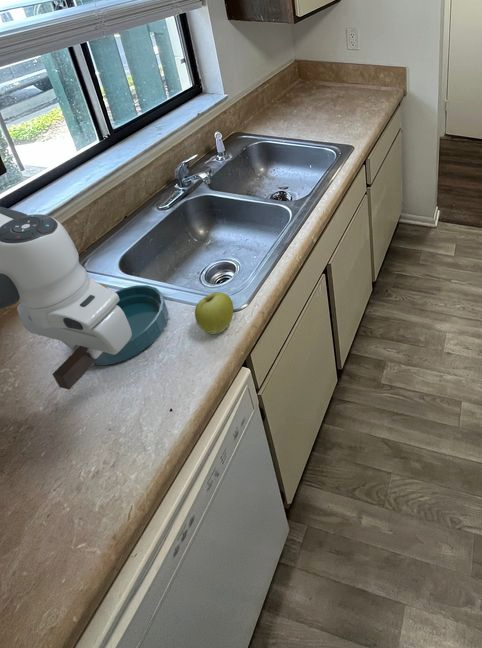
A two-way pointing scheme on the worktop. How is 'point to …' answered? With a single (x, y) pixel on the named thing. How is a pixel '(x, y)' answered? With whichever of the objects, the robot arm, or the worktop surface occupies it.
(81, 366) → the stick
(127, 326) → the robot arm
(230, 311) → the apple
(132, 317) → the bowl
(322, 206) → the worktop surface
